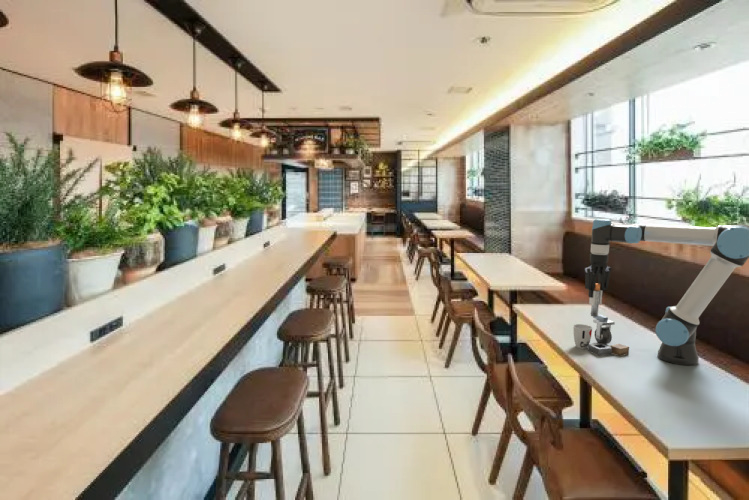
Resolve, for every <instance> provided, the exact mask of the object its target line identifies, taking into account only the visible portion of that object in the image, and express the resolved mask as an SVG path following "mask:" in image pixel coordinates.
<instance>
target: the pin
mask: <svg viewBox="0 0 749 500" xmlns="http://www.w3.org/2000/svg"><path fill="white" fill-rule="evenodd" d="M594 291H596V294H595V305H591V304H590V305H591V307H590V317H592V318H593V317H598V314H599V307H600V305H599V296H600V284H598V283H596V284H595V289H594Z"/></svg>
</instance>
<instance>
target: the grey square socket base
mask: <svg viewBox="0 0 749 500" xmlns="http://www.w3.org/2000/svg"><path fill="white" fill-rule="evenodd" d="M587 351H588V352H590V353H592V354H594V355H596V356H598V357H600V356H608V355H613V353H612V348H611V347H610V346H608V344H602V343H598V342H597V343H589V344H588V348H587Z"/></svg>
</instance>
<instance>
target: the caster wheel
mask: <svg viewBox="0 0 749 500" xmlns="http://www.w3.org/2000/svg"><path fill="white" fill-rule="evenodd" d="M592 318H593V323H595V324H596V328H595V331H594V339H595V341H596V342H597V343H602V344H604V345H609V344H611V342H612V340H613V339H612V338H613V336H612V332H611V326H614V325H615V324H616V323H615V321H613V320H611V319H609V317H608V316H605V315H602V314H600V313H598V317H593V316H592ZM604 326H605V327H604Z"/></svg>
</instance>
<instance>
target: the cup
mask: <svg viewBox="0 0 749 500" xmlns="http://www.w3.org/2000/svg"><path fill="white" fill-rule="evenodd" d="M592 333H593V327H592V326H591V325H588V324H581V323H579V324H578V323H577V324H573V340H574V341H573V342H574V344H575V348H577V349H579V350H580V349H581V350H585V349H587V350H588V344H591V343H590V342H591V338H592Z"/></svg>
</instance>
